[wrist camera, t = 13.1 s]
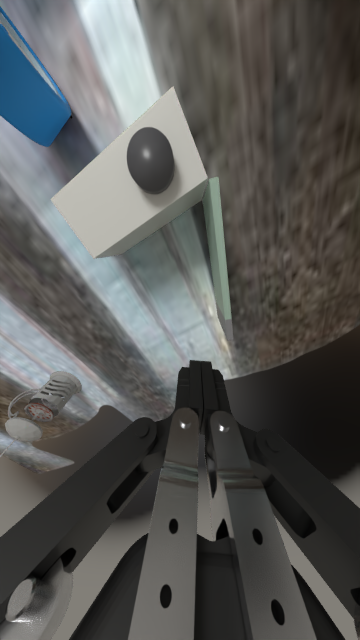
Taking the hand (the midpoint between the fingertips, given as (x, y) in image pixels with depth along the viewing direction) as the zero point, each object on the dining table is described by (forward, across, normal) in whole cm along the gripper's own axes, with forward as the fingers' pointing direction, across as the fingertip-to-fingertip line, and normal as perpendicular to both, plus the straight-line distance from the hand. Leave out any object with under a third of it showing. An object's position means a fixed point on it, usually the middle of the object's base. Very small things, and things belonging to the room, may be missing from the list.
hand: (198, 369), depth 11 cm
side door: (+24, -4, -4) cm, 25 cm away
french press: (+24, +38, +32) cm, 55 cm away
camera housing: (+25, +10, -13) cm, 30 cm away
